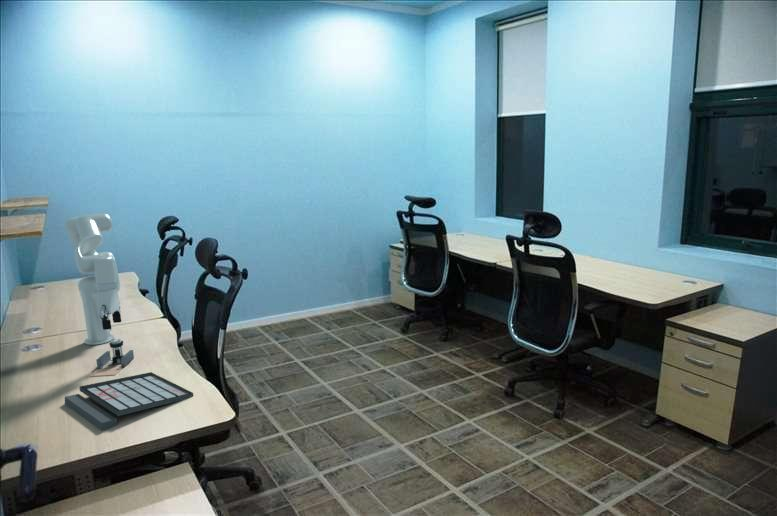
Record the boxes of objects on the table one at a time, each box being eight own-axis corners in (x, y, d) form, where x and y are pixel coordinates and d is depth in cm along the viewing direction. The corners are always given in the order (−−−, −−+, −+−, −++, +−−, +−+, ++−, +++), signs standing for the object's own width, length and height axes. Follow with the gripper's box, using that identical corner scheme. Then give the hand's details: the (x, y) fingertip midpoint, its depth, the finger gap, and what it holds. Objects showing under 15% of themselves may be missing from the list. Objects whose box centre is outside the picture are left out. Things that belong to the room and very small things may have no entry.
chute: (108, 359, 232) (106, 351, 231) (134, 358, 233) (132, 349, 232) (97, 368, 222) (96, 359, 222) (124, 367, 223) (123, 358, 222)
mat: (97, 370, 221) (97, 369, 221) (122, 368, 222) (121, 368, 222) (89, 376, 215) (89, 376, 214) (115, 375, 215) (115, 374, 215)
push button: (108, 366, 225) (105, 343, 223) (108, 362, 229) (105, 340, 228) (126, 363, 228) (123, 341, 226) (125, 359, 232) (122, 337, 230)
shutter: (151, 389, 215) (64, 408, 191) (150, 372, 215) (64, 389, 191) (193, 407, 195) (102, 431, 171) (193, 388, 194) (102, 410, 170)
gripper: (107, 282, 230) (112, 320, 233) (87, 291, 213) (93, 332, 216) (124, 281, 231) (129, 319, 234) (107, 290, 214) (112, 331, 217)
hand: (112, 325), depth 225 cm, fingers open, 9 cm apart
